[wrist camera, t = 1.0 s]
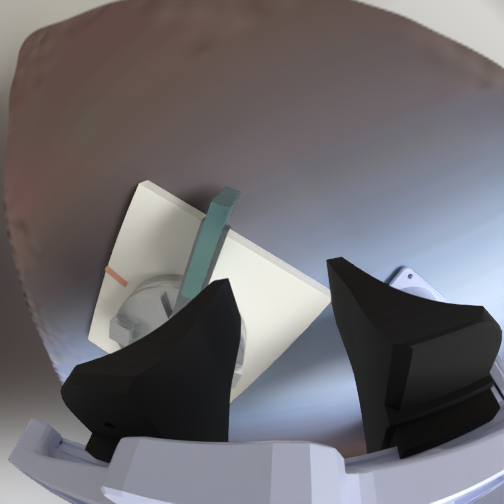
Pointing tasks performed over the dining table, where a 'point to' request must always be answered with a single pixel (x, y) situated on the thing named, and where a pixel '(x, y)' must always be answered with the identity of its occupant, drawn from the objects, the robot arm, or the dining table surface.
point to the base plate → (228, 266)
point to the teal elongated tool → (180, 283)
